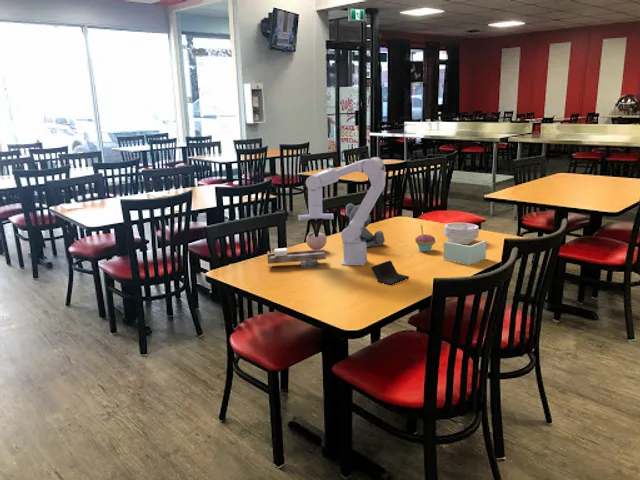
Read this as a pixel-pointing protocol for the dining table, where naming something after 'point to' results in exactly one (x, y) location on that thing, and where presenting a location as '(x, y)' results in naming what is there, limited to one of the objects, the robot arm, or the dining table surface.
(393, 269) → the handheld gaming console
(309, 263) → the fulcrum stand
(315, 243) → the decorative fruit
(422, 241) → the cupcake
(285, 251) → the block
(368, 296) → the dining table surface
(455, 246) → the pale blue squat box
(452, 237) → the paper bowls
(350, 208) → the koala plush
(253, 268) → the dining table surface
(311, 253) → the beam
